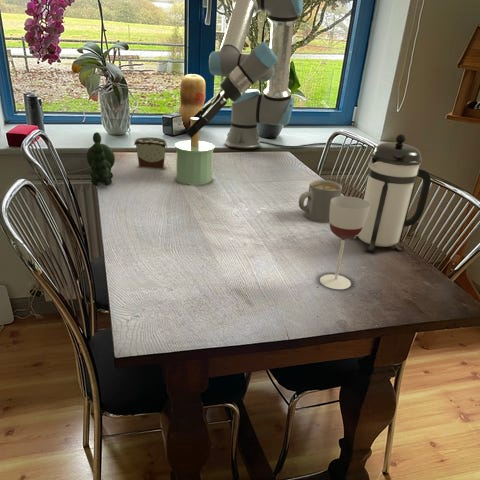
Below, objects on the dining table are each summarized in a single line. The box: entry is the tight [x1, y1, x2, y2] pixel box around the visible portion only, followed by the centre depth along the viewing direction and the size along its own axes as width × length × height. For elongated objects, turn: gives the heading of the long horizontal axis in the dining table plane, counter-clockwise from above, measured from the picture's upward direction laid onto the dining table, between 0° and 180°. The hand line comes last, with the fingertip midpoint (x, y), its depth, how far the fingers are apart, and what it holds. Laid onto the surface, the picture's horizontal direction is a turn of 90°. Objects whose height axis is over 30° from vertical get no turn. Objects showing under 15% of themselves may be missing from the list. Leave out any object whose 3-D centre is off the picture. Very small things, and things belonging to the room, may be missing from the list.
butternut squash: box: [177, 73, 206, 132], centre depth 236 cm, size 14×13×25 cm
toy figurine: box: [86, 131, 116, 186], centre depth 168 cm, size 9×19×25 cm
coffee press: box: [351, 134, 432, 254], centre depth 134 cm, size 17×16×30 cm
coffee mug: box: [298, 179, 343, 223], centre depth 154 cm, size 13×10×10 cm
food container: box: [133, 136, 168, 170], centre depth 188 cm, size 12×6×10 cm, turn 84°
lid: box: [174, 117, 215, 153], centre depth 171 cm, size 14×14×10 cm
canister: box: [175, 148, 214, 186], centre depth 177 cm, size 13×13×12 cm
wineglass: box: [319, 195, 370, 290], centre depth 115 cm, size 8×9×20 cm
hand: (189, 130), depth 171 cm, fingers open, 13 cm apart
